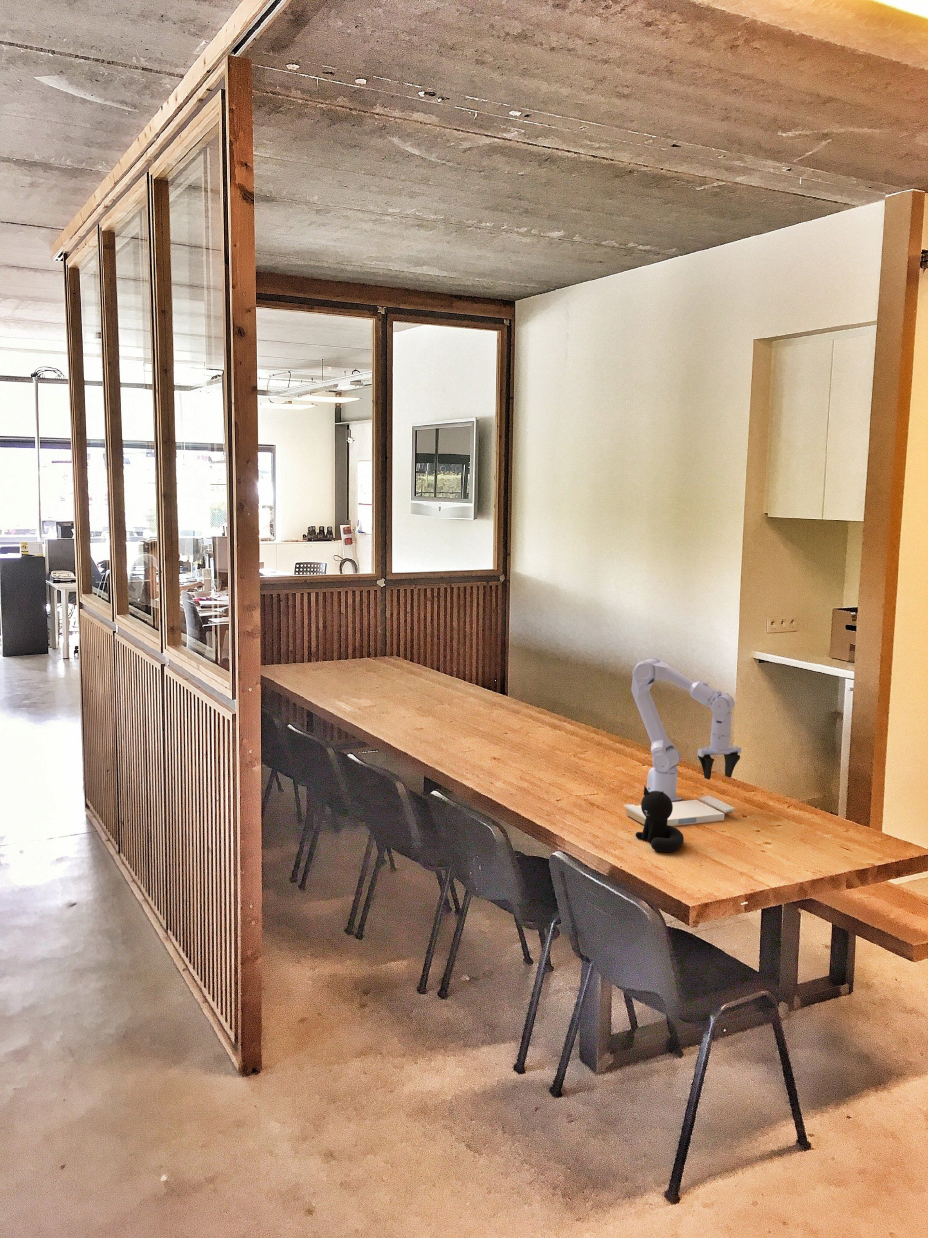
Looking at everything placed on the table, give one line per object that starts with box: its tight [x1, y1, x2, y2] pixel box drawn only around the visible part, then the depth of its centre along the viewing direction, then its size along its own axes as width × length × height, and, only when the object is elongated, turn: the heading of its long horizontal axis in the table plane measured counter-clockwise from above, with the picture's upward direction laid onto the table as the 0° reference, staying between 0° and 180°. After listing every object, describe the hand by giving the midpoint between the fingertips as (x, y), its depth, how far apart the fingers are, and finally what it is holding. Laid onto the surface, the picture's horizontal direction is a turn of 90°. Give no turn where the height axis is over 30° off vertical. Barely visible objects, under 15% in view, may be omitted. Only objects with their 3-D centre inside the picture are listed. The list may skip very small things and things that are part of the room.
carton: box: [637, 799, 726, 827], centre depth 300 cm, size 14×22×2 cm, turn 112°
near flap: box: [623, 803, 646, 826], centre depth 295 cm, size 13×4×2 cm, turn 22°
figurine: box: [635, 784, 685, 853], centre depth 276 cm, size 16×14×15 cm
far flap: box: [698, 794, 736, 816], centre depth 305 cm, size 13×4×2 cm, turn 22°
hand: (717, 777), depth 309 cm, fingers open, 7 cm apart
